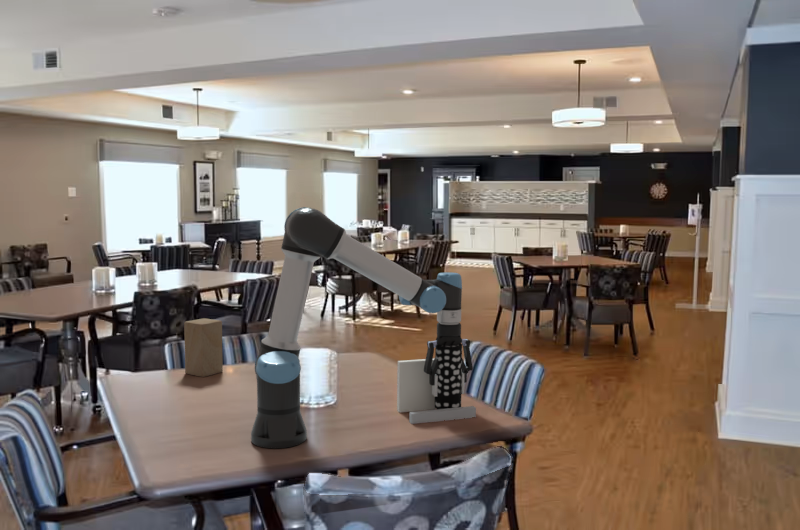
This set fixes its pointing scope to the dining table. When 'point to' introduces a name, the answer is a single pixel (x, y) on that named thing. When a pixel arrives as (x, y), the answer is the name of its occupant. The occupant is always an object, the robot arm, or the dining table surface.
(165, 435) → the dining table surface
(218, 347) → the wooden block
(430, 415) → the cleat board
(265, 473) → the dining table surface
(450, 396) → the white-spotted black cylinder
